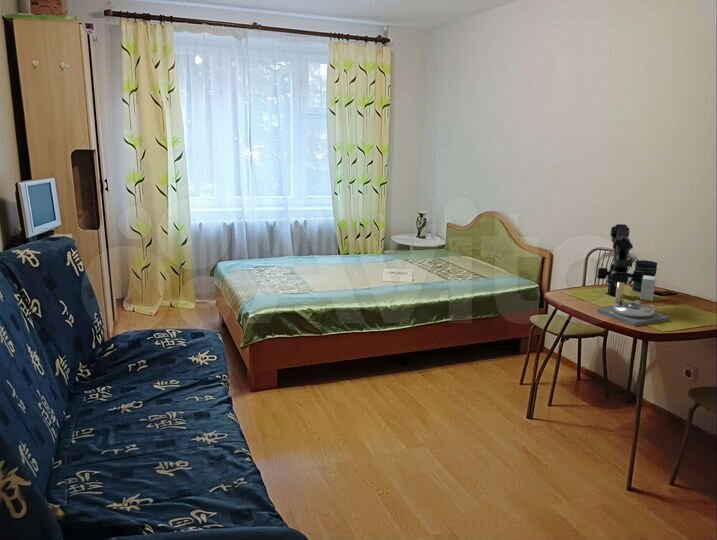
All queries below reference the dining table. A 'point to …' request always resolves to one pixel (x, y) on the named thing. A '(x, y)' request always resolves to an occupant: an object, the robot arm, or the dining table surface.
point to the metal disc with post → (631, 305)
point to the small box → (647, 287)
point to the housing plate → (634, 321)
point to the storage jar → (644, 271)
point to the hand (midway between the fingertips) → (618, 290)
